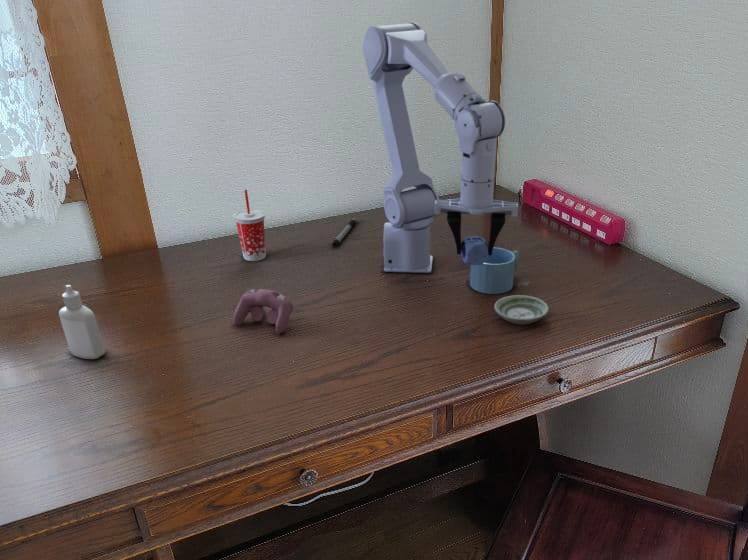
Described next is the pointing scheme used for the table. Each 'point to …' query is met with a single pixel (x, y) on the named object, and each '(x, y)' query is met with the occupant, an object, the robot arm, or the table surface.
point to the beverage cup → (251, 232)
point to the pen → (344, 232)
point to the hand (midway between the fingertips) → (474, 252)
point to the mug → (495, 272)
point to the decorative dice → (474, 250)
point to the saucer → (521, 309)
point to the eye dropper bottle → (80, 327)
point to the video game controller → (255, 303)
